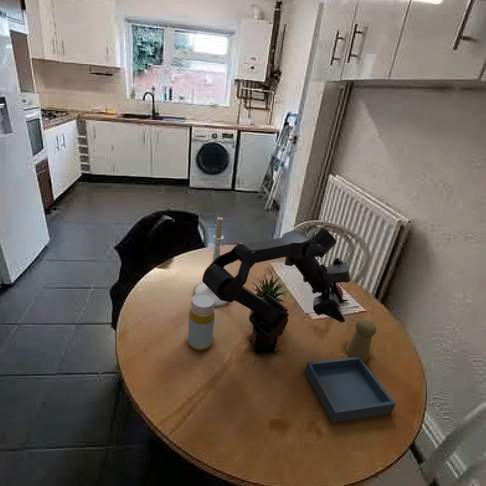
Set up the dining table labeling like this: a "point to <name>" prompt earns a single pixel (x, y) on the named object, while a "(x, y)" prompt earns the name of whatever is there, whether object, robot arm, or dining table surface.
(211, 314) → the bottle
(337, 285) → the onion
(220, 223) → the candlestick
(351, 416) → the tray
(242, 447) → the dining table surface
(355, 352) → the wooden peg doll
